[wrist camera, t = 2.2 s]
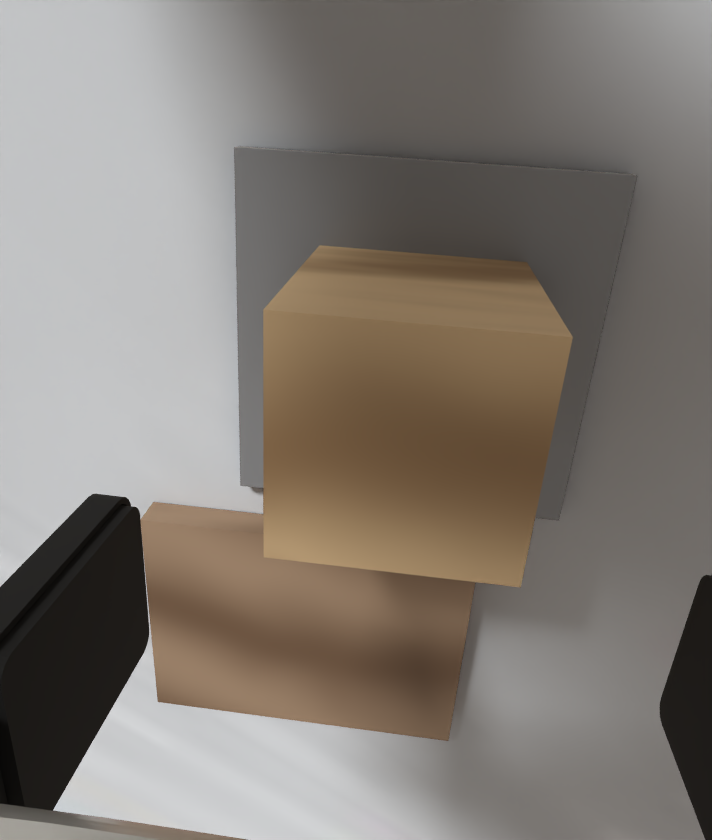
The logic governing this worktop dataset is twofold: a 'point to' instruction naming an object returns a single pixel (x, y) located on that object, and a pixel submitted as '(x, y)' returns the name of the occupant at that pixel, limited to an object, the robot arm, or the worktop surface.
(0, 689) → the robot arm
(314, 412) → the oak block
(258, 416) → the pad
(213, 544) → the walnut board
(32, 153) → the worktop surface
